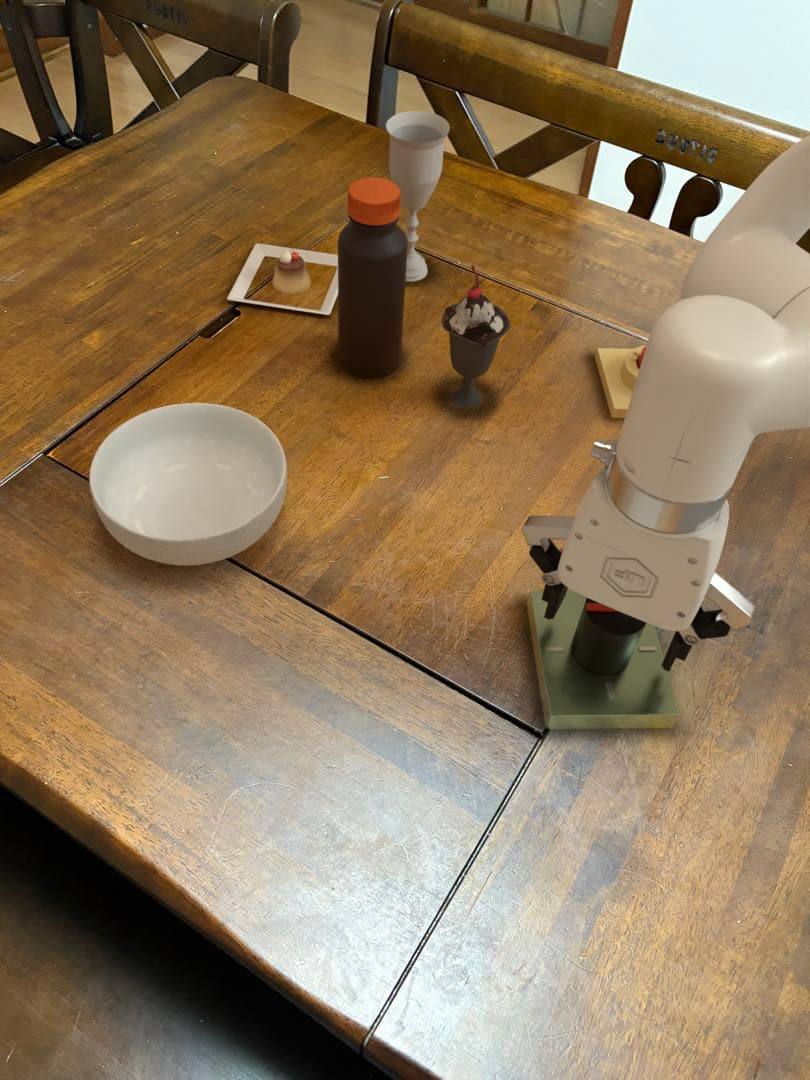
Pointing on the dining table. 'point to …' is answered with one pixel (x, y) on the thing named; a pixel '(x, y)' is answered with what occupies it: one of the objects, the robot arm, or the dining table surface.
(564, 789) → the dining table surface
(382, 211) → the bottle
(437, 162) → the chalice
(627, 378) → the switch
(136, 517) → the cereal bowl
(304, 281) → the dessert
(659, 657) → the panel
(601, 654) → the hob knob
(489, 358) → the sundae
